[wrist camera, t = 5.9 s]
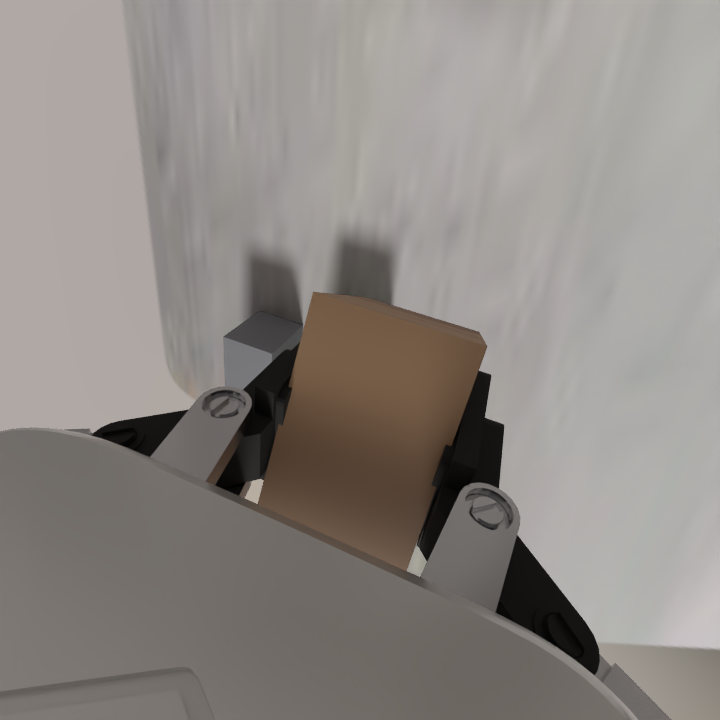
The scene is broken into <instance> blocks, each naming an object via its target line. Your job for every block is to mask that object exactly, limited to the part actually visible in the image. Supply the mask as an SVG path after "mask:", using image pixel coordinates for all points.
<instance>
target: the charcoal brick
mask: <svg viewBox="0 0 720 720" xmlns="http://www.w3.org/2000/svg"><path fill="white" fill-rule="evenodd" d="M302 331H303V325H301V324H298V323H295V322H292V321H289V320H286V319H283V318H280V317H277V316H274V315H271V314H268V313H265V312H262V311H258V312H257V313H256V314H254V315H253V316H251V317H250V318H249V319H247V320H246V321H245V322H243V323H242V324H240V325H239V326H238V327H236V328H235V329H234V330H232V331H231V332H229V333H228V334H227V335H225V336H224V337H223V338H224V367H225V387H227V386H228V387H236V388H239V389H241V390H243V389H244V388H245V387H246V386H247V385H248V384H249V383H250V382H251V381H252V380H253V379H254V378H255V377H256V376H258V375H259V374H260V373H261V372H262V371H263V370H264V369H265V368H266V367H267V366H268V365H269V364H270V363H271V362H272V361H273V360H274V359H275V358H276V357H277V356H279V355H280V354H281V353H282V352H283V351H284V350H286V349H289V350H292V349H293V348H294V347H295V346H296V345H297V344H298V343H299V342H300V341H301V337H302Z"/></svg>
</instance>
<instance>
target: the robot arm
mask: <svg viewBox="0 0 720 720" xmlns="http://www.w3.org/2000/svg"><path fill="white" fill-rule="evenodd" d="M299 345H300V342H299V343H298V344H297V345H296V346H295V347H294V348H293V349H292V350H289V349H286V350H284V351H283V352H282V353H281V354H280V355H279V356H277V357H276V358H275V359H274V360H273V361H272V362H271V363H270V364H269V365H268V366H267V367H266V368H265V369H264V370H263V371H262V372H261V373H260V374H259V375H258V376H256V377H255V378H254V379H253V380H252V381H251V382H250V383H249V384H248V385H247V386H246V387H245V388H244V389H243V390H241V389H239V388H236V387H228V386H227V387H217V388H214V389H210V390H208V391H206V392H204V393H203V394H202V395H201V396H200V397H199V398H198V399H197V400H196V401H195V403H194V404H193V405H192V406H191V408H190V409H189V410H184V411H178V412H172V413H166V414H160V415H153V416H148V417H142V418H135V419H129V420H123V421H118V422H114V423H110V424H108V425H106V426H104V427H101V428H100V429H99V430H97V431H96V432H94V433H91V430H90V429H69V430H62V429H49V428H19V429H10V430H5V431H0V720H671V719H670V718H669V717H668V716H667V715H666V714H665V713H664V712H663V711H662V710H661V709H660V708H659V707H658V706H657V705H656V704H655V703H654V702H653V701H652V700H651V699H650V697H649V696H648V695H647V694H646V693H645V692H643V691H642V689H640V687H639V686H638V685H637V684H636V683H635V682H634V681H633V680H632V679H631V678H630V677H629V676H628V675H627V674H626V673H625V672H624V671H623V670H622V669H621V668H620V667H619V666H618V665H617V664H616V663H615V664H613V665H612V666H610V665H609V664H608V663H607V662H606V661H605V660H604V658H603V657H602V656H601V655H600V654H599V648H598V645H597V643H596V640H595V637H594V635H593V633H592V632H591V630H590V629H589V627H588V625H587V624H586V622H585V621H584V620H583V618H582V617H581V616H580V615H579V613H578V612H577V611H576V610H575V608H574V607H573V606H572V604H571V603H570V602H569V601H568V599H567V598H566V597H565V595H564V594H563V593H562V592H561V590H560V589H559V588H558V586H557V585H556V584H555V583H554V581H553V580H552V579H551V578H550V576H549V575H548V574H547V572H546V571H545V570H544V569H543V567H542V566H541V565H540V563H539V562H538V561H537V560H536V558H535V557H534V556H533V555H532V553H531V552H530V551H529V549H528V548H527V547H526V546H525V544H524V543H523V542H522V540H521V539H520V538H519V537H518V535H517V533H518V530H519V526H520V515H519V511H518V508H517V507H516V505H515V504H514V502H513V500H512V499H511V498H510V497H509V496H508V495H507V494H506V493H504V492H503V491H501V490H500V489H499V480H500V469H501V458H502V446H503V435H504V425H503V424H501V423H498V422H495V421H492V420H489V419H487V418H485V412H486V406H487V400H488V393H489V387H490V380H491V375H490V374H487V373H484V372H481V371H478V374H477V376H476V379H475V382H474V385H473V387H472V390H471V393H470V396H469V399H468V401H467V404H466V407H465V410H464V412H463V415H462V418H461V421H460V424H459V426H458V429H457V432H456V435H455V437H454V440H453V443H452V446H449V445H446V446H445V449H444V451H443V454H442V457H441V460H440V463H439V465H438V468H437V471H436V474H435V477H434V479H433V482H432V486H434V487H436V490H435V493H434V496H433V499H432V501H431V504H430V507H429V510H428V512H427V515H426V518H425V521H424V523H423V526H422V529H421V532H420V535H419V538H418V542H417V546H418V547H419V548H420V550H421V552H422V554H423V555H424V557H425V559H426V561H427V563H426V565H425V568H424V570H423V572H422V574H421V576H420V577H418V576H416V575H414V574H411V573H409V572H407V571H405V570H403V569H401V568H398V567H396V566H394V565H392V564H390V563H387V562H385V561H383V560H381V559H378V558H376V557H374V556H372V555H370V554H367V553H365V552H363V551H361V550H359V549H356V548H354V547H352V546H350V545H348V544H345V543H343V542H341V541H339V540H336V539H334V538H332V537H330V536H328V535H325V534H323V533H321V532H319V531H316V530H314V529H312V528H310V527H307V526H305V525H303V524H301V523H298V522H296V521H294V520H292V519H290V518H287V517H285V516H283V515H281V514H278V513H276V512H274V511H272V510H269V509H267V508H265V507H263V506H260V505H258V504H256V503H253V502H251V501H249V500H246V499H245V496H246V494H247V492H248V490H249V488H250V485H251V482H252V481H253V480H257V479H262V480H264V478H265V475H266V471H267V467H268V463H269V459H270V455H271V452H272V448H273V444H274V440H275V436H276V433H277V429H278V425H279V424H280V425H282V426H283V422H284V418H285V415H286V411H287V407H288V403H289V399H290V396H291V392H292V388H291V387H289V383H290V379H291V375H292V371H293V368H294V364H295V360H296V356H297V352H298V349H299Z"/></svg>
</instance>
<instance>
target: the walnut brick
mask: <svg viewBox="0 0 720 720" xmlns="http://www.w3.org/2000/svg"><path fill="white" fill-rule="evenodd" d="M486 349H487V345H486V343H485V341H484V340H483V338H482V336H481V335H480V333H479V332H478V331H474V330H471V329H468V328H465V327H461V326H458V325H455V324H452V323H448V322H445V321H442V320H439V319H435V318H432V317H429V316H425V315H422V314H419V313H416V312H412V311H409V310H406V309H403V308H399V307H396V306H393V305H390V304H386V303H383V302H380V301H377V300H373V299H370V298H367V297H359V296H349V295H339V294H329V293H319V292H313V295H312V299H311V303H310V307H309V310H308V314H307V318H306V322H305V326H304V329H303V333H302V337H301V341H300V345H299V349H298V352H297V356H296V360H295V364H294V368H293V371H292V375H291V379H290V383H289V387H291V388H292V392H291V396H290V399H289V403H288V407H287V411H286V415H285V418H284V422H283V426H282V425H280V424H279V425H278V429H277V433H276V436H275V440H274V444H273V448H272V452H271V455H270V459H269V463H268V467H267V471H266V475H265V478H264V482H263V486H262V490H261V494H260V497H259V501H258V505H260V506H263V507H265V508H267V509H269V510H272V511H274V512H276V513H278V514H281V515H283V516H285V517H287V518H290V519H292V520H294V521H296V522H298V523H301V524H303V525H305V526H307V527H310V528H312V529H314V530H316V531H319V532H321V533H323V534H325V535H328V536H330V537H332V538H334V539H336V540H339V541H341V542H343V543H345V544H348V545H350V546H352V547H354V548H356V549H359V550H361V551H363V552H365V553H367V554H370V555H372V556H374V557H376V558H378V559H381V560H383V561H385V562H387V563H390V564H392V565H394V566H396V567H398V568H401V569H403V570H405V571H407V568H408V565H409V562H410V560H411V557H412V554H413V551H414V548H415V546H416V543H417V540H418V537H419V535H420V532H421V529H422V526H423V523H424V521H425V518H426V515H427V512H428V510H429V507H430V504H431V501H432V499H433V496H434V493H435V490H436V487H434V486H432V482H433V479H434V477H435V474H436V471H437V468H438V465H439V463H440V460H441V457H442V454H443V451H444V449H445V446H446V445H449V446H452V443H453V440H454V437H455V435H456V432H457V429H458V426H459V424H460V421H461V418H462V415H463V412H464V410H465V407H466V404H467V401H468V399H469V396H470V393H471V390H472V387H473V385H474V382H475V379H476V376H477V374H478V371H479V368H480V365H481V363H482V360H483V357H484V354H485V351H486Z"/></svg>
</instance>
